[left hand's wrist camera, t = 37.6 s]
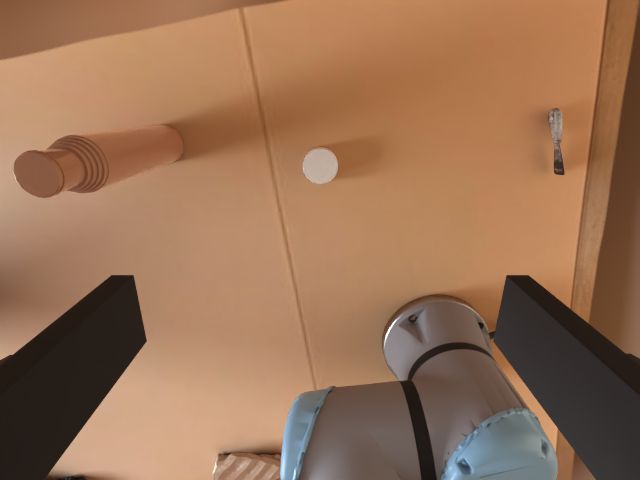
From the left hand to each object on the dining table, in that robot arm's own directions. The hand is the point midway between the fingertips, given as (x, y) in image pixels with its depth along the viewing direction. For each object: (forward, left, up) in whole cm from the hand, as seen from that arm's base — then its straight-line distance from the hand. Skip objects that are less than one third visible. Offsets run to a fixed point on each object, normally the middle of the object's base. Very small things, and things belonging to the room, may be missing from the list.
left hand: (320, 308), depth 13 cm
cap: (0, 0, -32) cm, 32 cm away
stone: (+5, +54, -34) cm, 65 cm away
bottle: (+19, 0, -34) cm, 39 cm away
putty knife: (-28, -6, -34) cm, 45 cm away
